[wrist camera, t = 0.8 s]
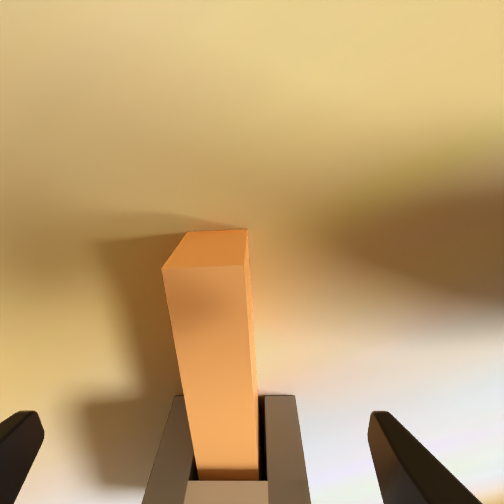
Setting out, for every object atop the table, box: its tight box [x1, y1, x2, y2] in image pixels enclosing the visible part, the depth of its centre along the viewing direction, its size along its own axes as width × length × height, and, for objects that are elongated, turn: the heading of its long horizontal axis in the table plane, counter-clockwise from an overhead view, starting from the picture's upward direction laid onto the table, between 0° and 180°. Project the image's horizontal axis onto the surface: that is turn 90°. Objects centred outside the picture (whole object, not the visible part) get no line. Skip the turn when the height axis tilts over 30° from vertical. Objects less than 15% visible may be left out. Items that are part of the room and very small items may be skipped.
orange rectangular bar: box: [161, 229, 263, 481], centre depth 18 cm, size 20×3×5 cm, turn 3°
